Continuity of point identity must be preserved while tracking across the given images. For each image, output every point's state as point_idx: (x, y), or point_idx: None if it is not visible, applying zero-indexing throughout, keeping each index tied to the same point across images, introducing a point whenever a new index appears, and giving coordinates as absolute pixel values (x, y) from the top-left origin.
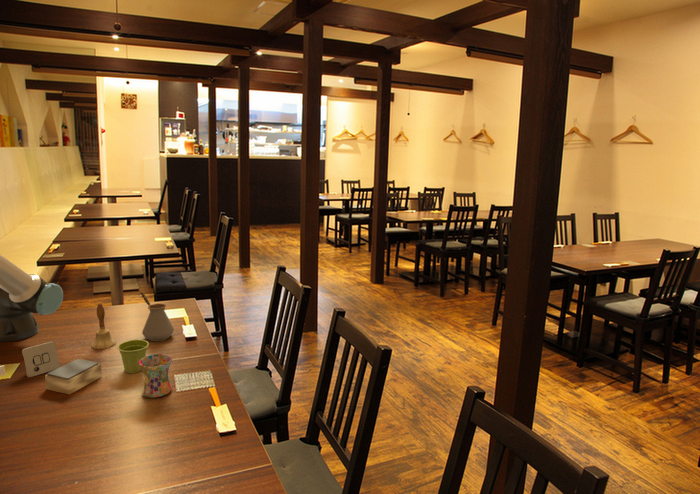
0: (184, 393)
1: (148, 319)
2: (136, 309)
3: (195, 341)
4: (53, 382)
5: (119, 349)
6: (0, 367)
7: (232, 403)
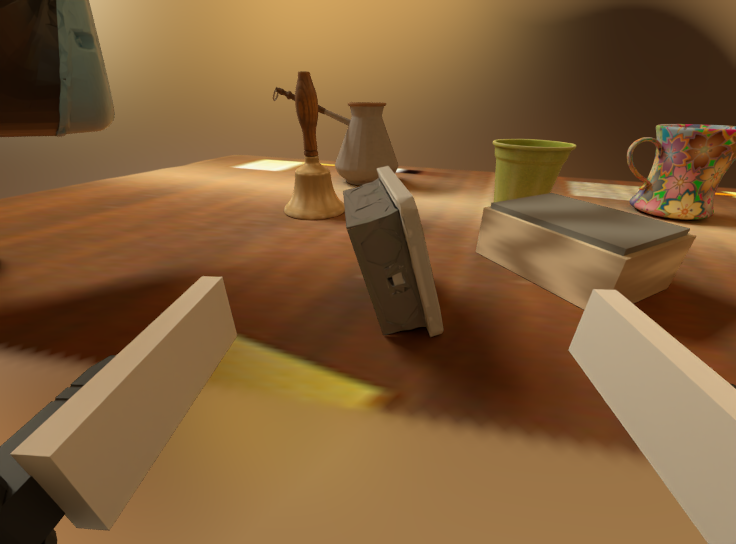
0: None
1: (367, 134)
2: (183, 172)
3: (427, 172)
4: (641, 273)
5: (555, 147)
6: (635, 310)
7: (722, 189)
